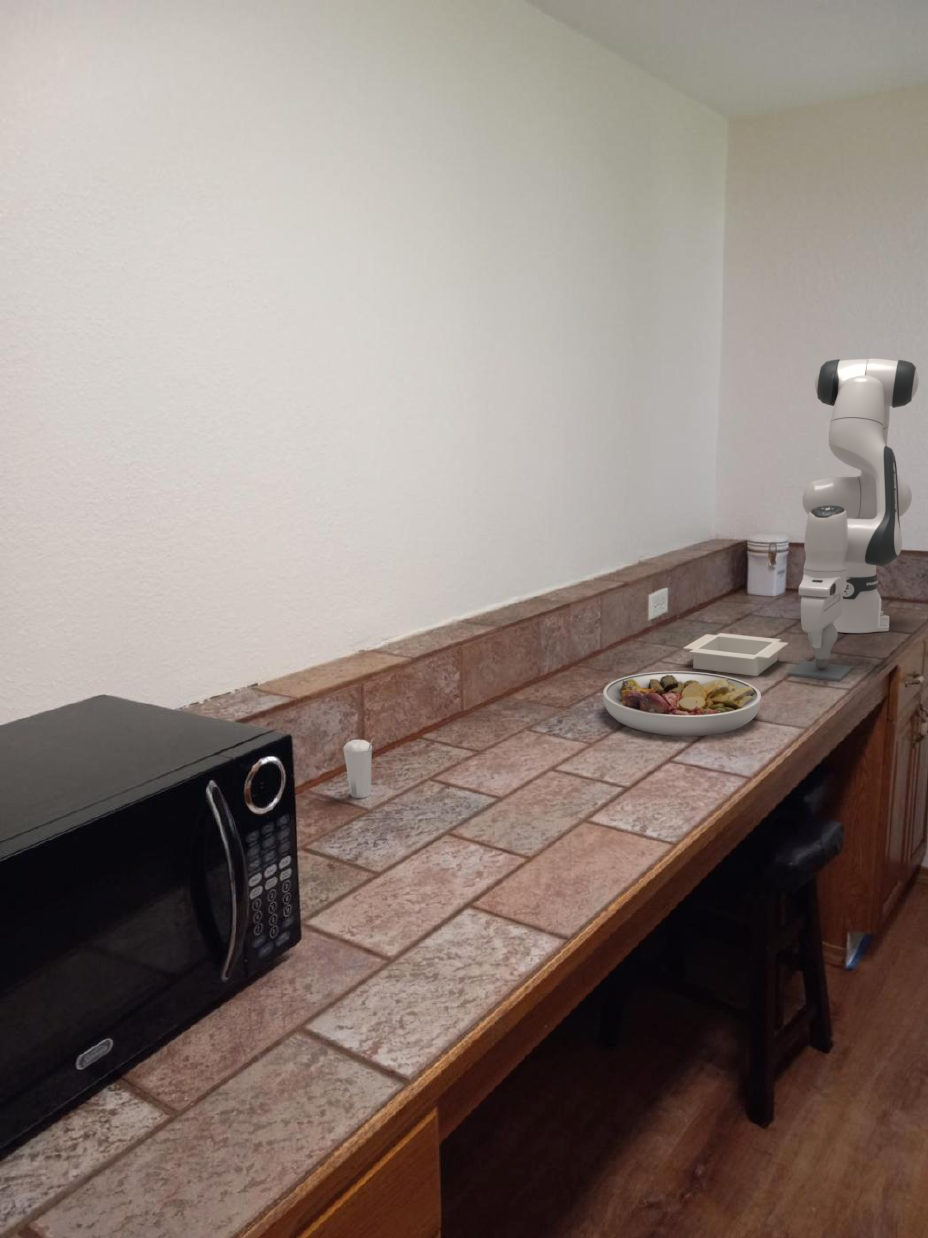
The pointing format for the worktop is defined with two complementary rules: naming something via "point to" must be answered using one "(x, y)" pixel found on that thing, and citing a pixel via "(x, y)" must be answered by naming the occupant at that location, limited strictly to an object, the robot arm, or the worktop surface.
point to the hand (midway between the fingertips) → (821, 643)
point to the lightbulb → (825, 646)
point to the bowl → (682, 702)
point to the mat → (820, 671)
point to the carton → (735, 653)
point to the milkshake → (359, 767)
